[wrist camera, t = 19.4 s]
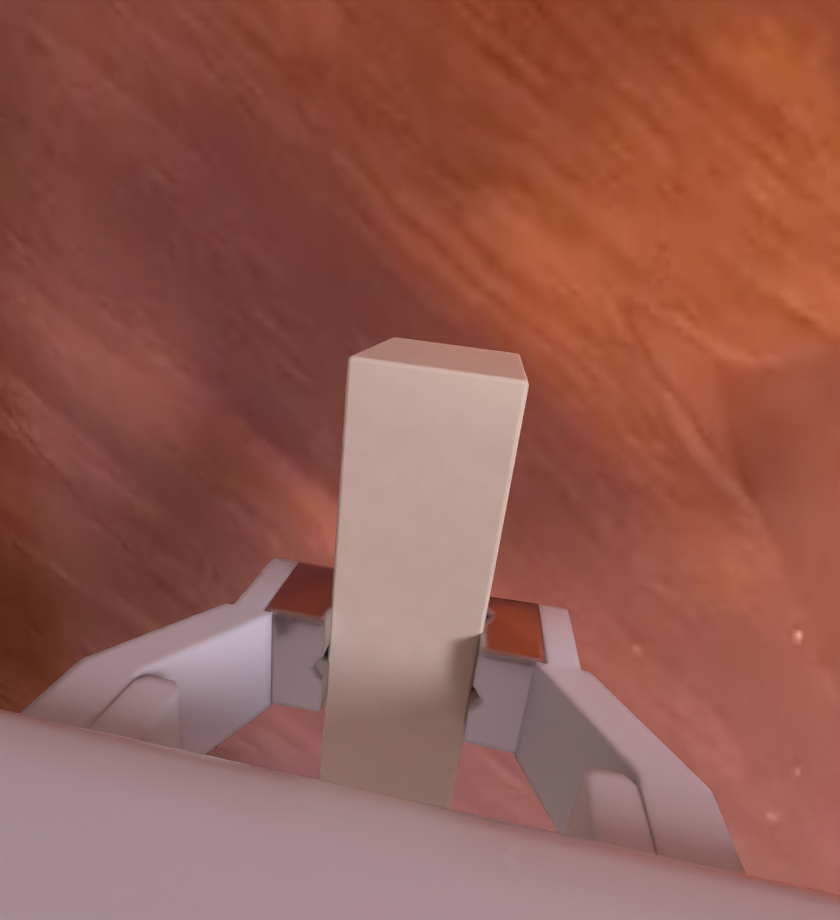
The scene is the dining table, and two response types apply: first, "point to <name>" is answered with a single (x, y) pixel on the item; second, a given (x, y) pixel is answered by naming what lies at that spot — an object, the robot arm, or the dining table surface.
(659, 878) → the robot arm
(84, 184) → the dining table surface
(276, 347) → the dining table surface
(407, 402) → the butter knife
